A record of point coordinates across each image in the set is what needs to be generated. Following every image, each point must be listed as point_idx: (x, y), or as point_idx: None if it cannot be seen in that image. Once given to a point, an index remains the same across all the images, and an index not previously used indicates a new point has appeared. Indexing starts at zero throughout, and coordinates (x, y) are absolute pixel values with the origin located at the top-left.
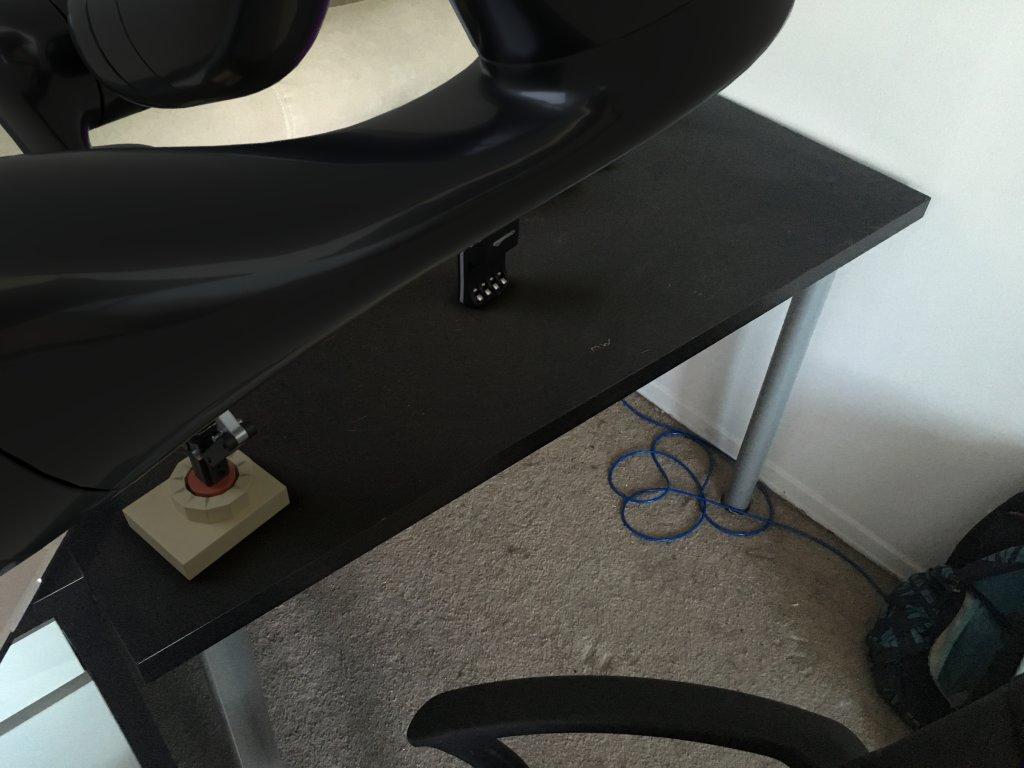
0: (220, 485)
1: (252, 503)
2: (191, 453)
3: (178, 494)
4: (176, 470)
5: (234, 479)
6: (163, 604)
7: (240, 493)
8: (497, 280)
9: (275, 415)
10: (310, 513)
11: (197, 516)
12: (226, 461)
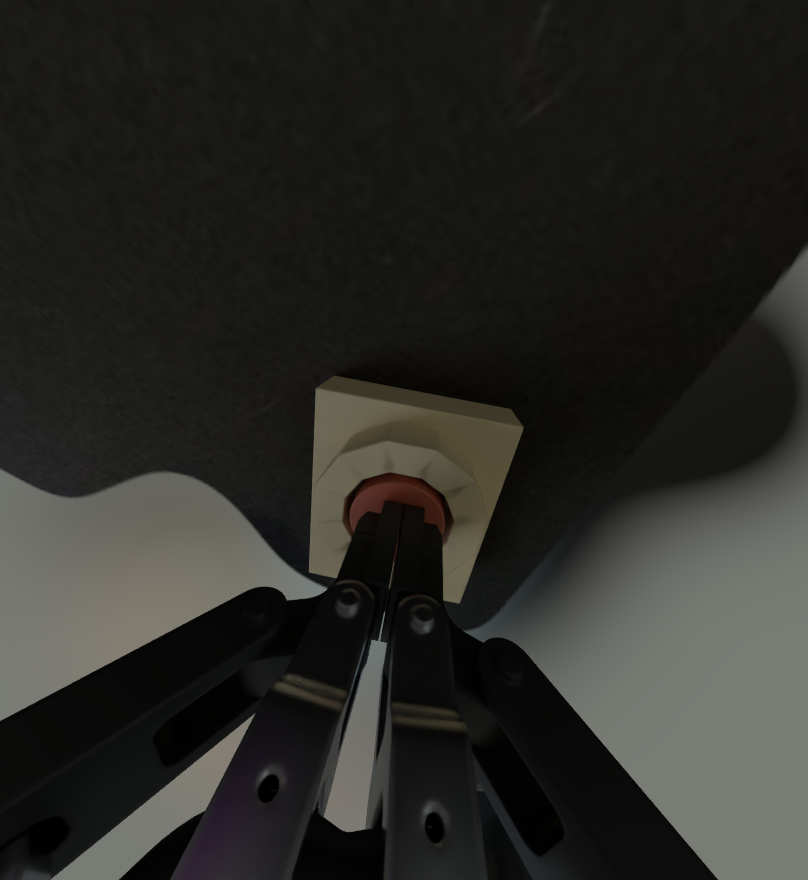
0: None
1: (484, 489)
2: (376, 638)
3: None
4: (326, 537)
5: (441, 505)
6: None
7: (479, 529)
8: None
9: (316, 208)
10: (562, 408)
11: None
12: (442, 564)
